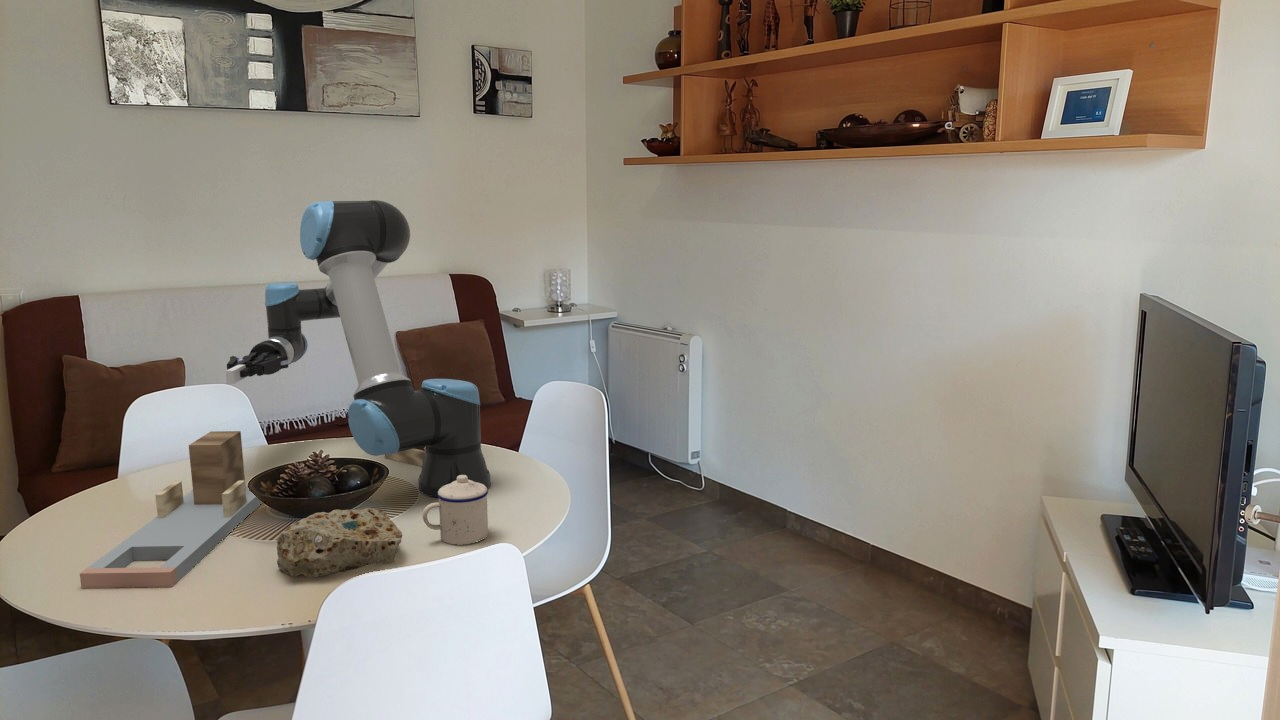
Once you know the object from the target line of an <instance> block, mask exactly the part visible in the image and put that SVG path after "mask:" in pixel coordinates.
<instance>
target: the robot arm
mask: <svg viewBox="0 0 1280 720" xmlns="http://www.w3.org/2000/svg"><path fill="white" fill-rule="evenodd" d="M302 214H303V215H302V218H301V221H300V227H299V242H300V248H301V252H302V253H303V255H304V256H305V258H306V259H308V260H311V261H315V260H316V263H317V266H318V270H319V272H320V273H322V274H324V275H326V276H328V278H329V282H328V284H327V285H326V286H325V287H323V288H322V287H321V288H305V289H300V287H299V285H298V284H297V283H296V282H274V283H269V284H268V285H266V286H265V293H264V296H265V300H264V305H265V309H266V310H265V311H266V321H267V337H268V338H267V339H265V340H264V341H261V342H259V343H257V344H255V345H254V346H253V347H252V348H251V349H250V352H249V354H248V355H244V356H243V357H242V358H240V356H234V355H231V356H230V357H229V361H228V362H227V364H226V370H225V377H226V378H225V379H226V384H227V385H228V384H229V385H230V384H231V385H232V384H233V385H234V384H236V383H238V382H240V381H242V380H244V379H245V378H248V377H249V378H250V377H253V376H256V377H257V376H258V377H262V376H264V375H265V376H269V375H274V374H276V373H278V372H280V371H281V370H283V369H288V368H289V365H291V364H293V363H296V362H298V361H299V360H300V359H302V357H303V356H304V355H305V354H306V352H307V350H308V340H307V337H306V336H305V335H304V334H303V333H302V322H304V321H305V322H306V321H313V320H324V319H325V320H326V319H338V318H340V321H341V325H342V330H343V333H344V336H345V340H346V344H347V348H348V352H349V354H350V358H351V361H352V365H353V369H354V373H355V376H356V377H355V378H356V381H357V387H356V389H355V390H354V392H353V394H352V396H353V402H351V403H350V404H349V407H348V410H347V416H348V419H347V420H348V426H349V430H350V433H351V435H352V437H353V440H354V441H355V443H356V445H358V446H359V448H360V449H361V450H362V451H363V452H364V453H366V454H368V455H369V456H373V457H378V456H385V455H386V454H389V455H391V454H394V453H396V452H400V451H405V450H409V449H414V448H419V447H424V446H425V448H424V449H425V457H424V461H423V465H422V466H421V469H420V474H419V476H418V481H417V482H418V490H419V492H420V493H421V494H423V495H426V496H429V497H434V498H438V496H437V494H438V491H439V489H440V488H441V487H443V486H445V485H447V484H450V483H452V482H453V481H456V480H457V476H459V475H466V476H467V477H468V480H471V481H474V482H477V483H481V484H483V485H485V486H486V488H487V490H488V489H489V488H490V486H491V484H492V483H491V473H490V470H489V469H488V467H487V463H486V461H485V460H486V459H485V456H484V454H483V452H482V443H481V441H482V438H481V437H482V435H481V412H480V410H481V408H480V406H481V401H480V393H479V388H478V387H477V385H476V384H474V383H472V382H470V381H465V380H460V379H453V378H452V379H451V378H430V379H429V378H428V379H424V380H423V381H422V384H421V386H420V387H421V388H422V389H418V390H417V389H416V390H415V389H414V388H413V387H414V386H413V384H412V380H411V379H410V378H409V377H407V376H405V375H403V374H402V372H401V370H400V366H399V362H398V358H397V355H396V352H395V347H394V343H393V341H392V337H391V333H390V331H389V330H390V329H389V326H388V322H387V320H386V316H385V313H384V311H385V310H384V308H383V305H382V302H381V298H380V294H379V290H378V287H377V283H376V278H377V277H378V276H379V275H380V273H381V272H382V271H383V270H384V269H385V268H386V267H387V266H388V264H391V263H395V262H396V261H397V260H399V259H400V258H401V256H402V255H403V254H404V253H405V251H406V250H407V248H408V245H409V243H410V241H411V240H410V238H411V229H410V225H409V222H408V220H407V218H406V216H405V215H404V213H402V211H401V210H400V209H398V208H397V207H396V206H394V205H393V204H391V203H389V202H386V201H383V200H374V199H373V200H341V201H340V200H332V199H329V200H327V201H315V202H312V203H310V204H309V205H308V206H306V208H305V210H304V211H303V213H302Z"/></svg>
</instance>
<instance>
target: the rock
mask: <svg viewBox="0 0 1280 720" xmlns="http://www.w3.org/2000/svg"><path fill="white" fill-rule="evenodd" d="M402 537H403V532H402V531H401V529H399V527H398V526H397V525H396V523H395V522H393V521H392V519H391V517H390V516H389V515H388V514H387V513H386V511H385V510H381V509H376V508H370V507H366V508H359V509H358V508H357V509H356V508H355V509H333V510H331V511H330V512H325V511H322V512H314V513H313V514H310V515H308V516H307V517H304V518H301V519H300V520H298V521H296V522H294V523H292V524H290V525H288V527H287V528H286V529H284V531H281V532H280V534H279V536H278V537H277V539H276V543H277V544H276V550H277V551H276V552H277V554H276V555H277V557H278V558H277V560H276V564H277V568H279V570H282V571H283V572H284V573H286V574H287V575H288V574H289V576H291V577H293V578H298V577H299V575H301V576H302V575H304V576H305V577H310V578H311V577H312V578H313V577H314V578H318V577H324V576H325V575H326V576H327V575H333V574H336V573H344V572H348V571H352V570H357V569H360V568H363V567H367V566H370V565H378V566H379V565H383V564H393V563H395V561H396V560H395V559H396V557H397V553H398V550H399V547H400V545H401V543H402Z"/></svg>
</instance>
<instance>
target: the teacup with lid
mask: <svg viewBox="0 0 1280 720" xmlns="http://www.w3.org/2000/svg"><path fill="white" fill-rule="evenodd" d="M488 494H489V490H488V489H487V488H486V486H485V485H483V484H481V483H477V482H474V481H471V480H468V477H467V476H466V475H459V476H457V480H456V481H453V482H452V483H450V484H447V485H445V486H443V487H441V488H440V489H439V491H438V494H437V496H438V497H437V498H438V502H432V503H429V504H428V505H426V506H425V507H424V508H423V511H422V520H423V523H424V524H425V525H426V526H427V527H428V528H429V529H431V530H435V531H436V530H437V531H438V530H439V532H440V533H439V534H440V535H439V536H440V539H441V541H442V542H444V543H446V544H448V545H449V544H450V545H453V544H457V545H456V546H464V545H463V544H468V545H471V544H470V543H473V544H475V543H474V542H476V541H479V540H481V539H483V538H485V537H486V536H487V537H488V535H489V521H488V519H489V517H488V496H487V495H488ZM435 508H438V510H439V524H432V523H430V522H429V520H428V513H429V512H430V510H433V509H435ZM487 537H486V538H487ZM486 538H485V539H486Z"/></svg>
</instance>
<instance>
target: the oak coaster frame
mask: <svg viewBox="0 0 1280 720" xmlns="http://www.w3.org/2000/svg"><path fill="white" fill-rule="evenodd" d="M424 457H425V451H423V450H418V449H409V450H405V451H400V452H396V453H394V454H391V455H389V454H386V455H384V459H387V460H392V461H397V462H399V463H406V464H410V465H414V466H418V467H422V465H423V461H424Z"/></svg>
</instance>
